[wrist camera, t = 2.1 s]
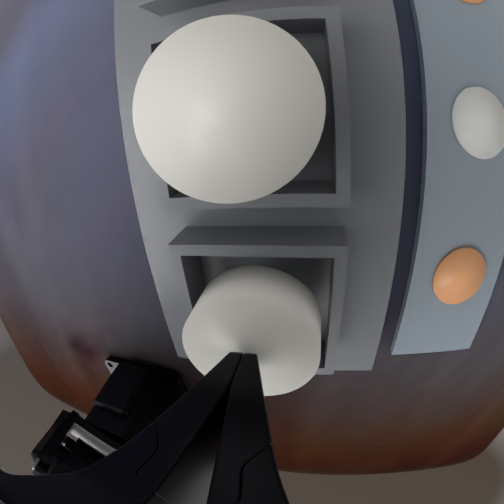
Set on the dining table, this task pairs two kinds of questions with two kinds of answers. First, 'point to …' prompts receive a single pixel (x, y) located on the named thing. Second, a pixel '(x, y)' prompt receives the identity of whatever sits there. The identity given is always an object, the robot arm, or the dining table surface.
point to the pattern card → (456, 175)
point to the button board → (300, 187)
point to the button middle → (229, 109)
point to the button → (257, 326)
